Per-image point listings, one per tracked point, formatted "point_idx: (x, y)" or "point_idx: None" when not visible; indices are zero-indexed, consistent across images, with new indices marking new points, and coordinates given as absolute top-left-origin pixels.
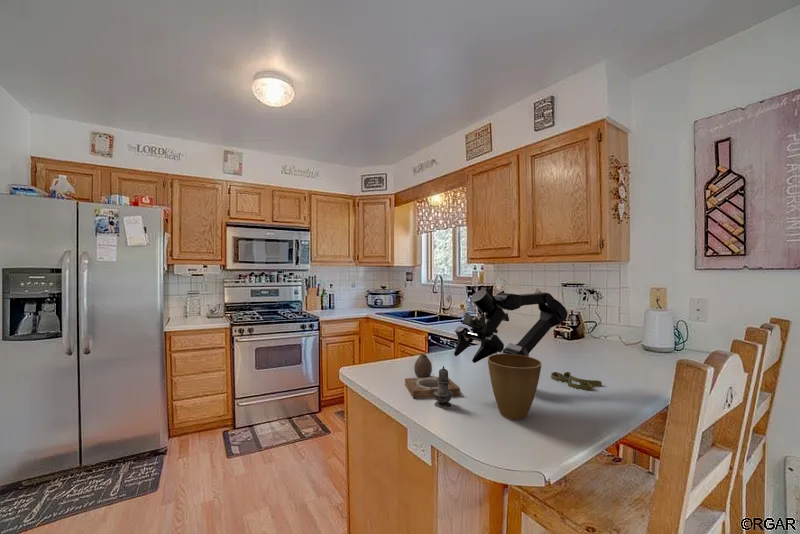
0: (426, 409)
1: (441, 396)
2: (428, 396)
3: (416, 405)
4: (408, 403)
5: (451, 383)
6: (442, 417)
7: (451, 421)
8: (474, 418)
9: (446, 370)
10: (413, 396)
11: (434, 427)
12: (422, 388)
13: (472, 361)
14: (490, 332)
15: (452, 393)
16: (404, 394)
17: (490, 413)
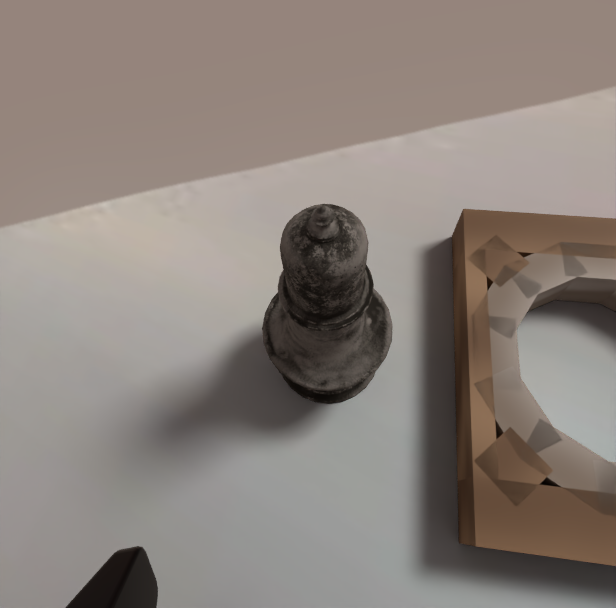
0: None
1: (276, 295)
2: (454, 311)
3: None
4: (389, 200)
5: (612, 530)
6: (179, 287)
7: (122, 308)
8: (94, 438)
9: (295, 250)
10: (455, 231)
11: (108, 222)
12: (500, 267)
13: (140, 555)
14: None
15: (301, 383)
16: None
17: None
